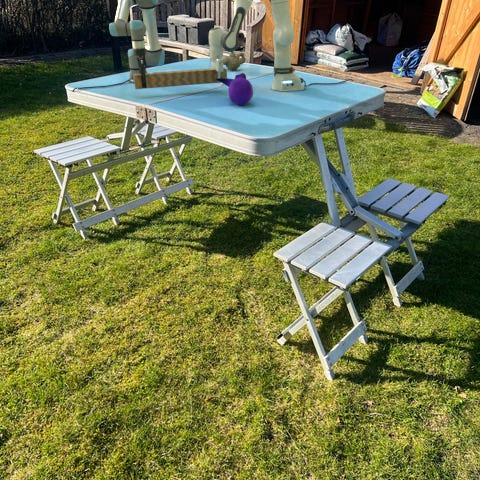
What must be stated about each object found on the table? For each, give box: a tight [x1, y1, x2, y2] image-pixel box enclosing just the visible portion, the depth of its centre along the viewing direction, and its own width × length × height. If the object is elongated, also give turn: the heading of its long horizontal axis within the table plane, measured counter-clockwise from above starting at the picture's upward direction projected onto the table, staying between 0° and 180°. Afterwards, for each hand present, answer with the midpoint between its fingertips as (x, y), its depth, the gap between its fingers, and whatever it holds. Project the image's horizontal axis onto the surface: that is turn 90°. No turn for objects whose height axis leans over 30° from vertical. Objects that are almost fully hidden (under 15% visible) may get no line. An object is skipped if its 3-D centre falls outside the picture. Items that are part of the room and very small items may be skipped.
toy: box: [216, 72, 254, 106], centre depth 272 cm, size 16×18×27 cm
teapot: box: [221, 51, 246, 71], centre depth 368 cm, size 21×12×15 cm, turn 120°
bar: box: [133, 66, 228, 90], centre depth 293 cm, size 61×6×8 cm, turn 107°
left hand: (144, 86), depth 289 cm, fingers closed on bar, 6 cm apart
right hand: (217, 77), depth 300 cm, fingers closed on bar, 5 cm apart
